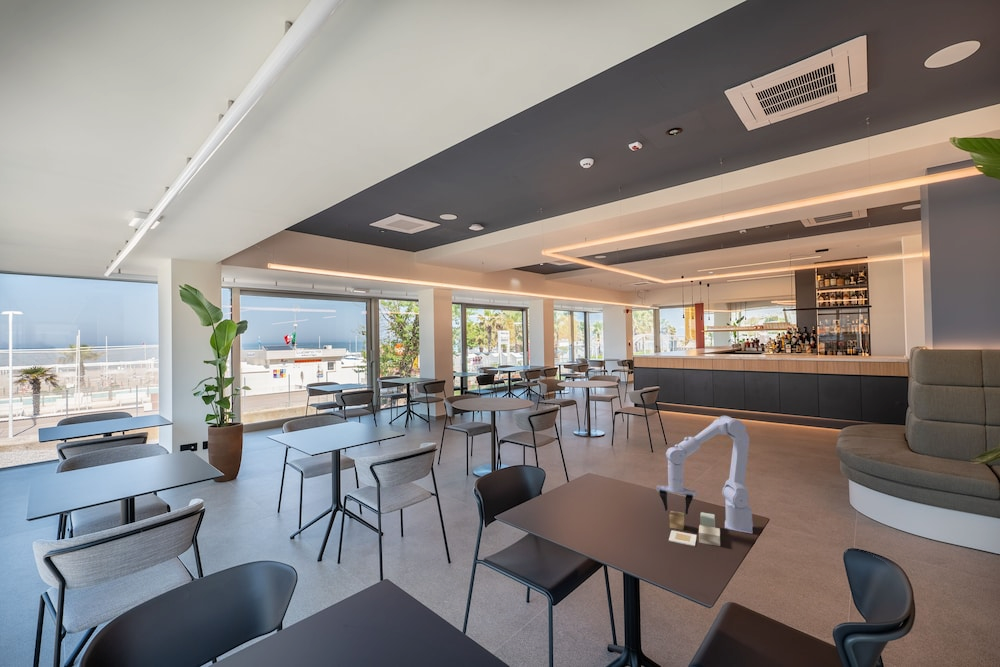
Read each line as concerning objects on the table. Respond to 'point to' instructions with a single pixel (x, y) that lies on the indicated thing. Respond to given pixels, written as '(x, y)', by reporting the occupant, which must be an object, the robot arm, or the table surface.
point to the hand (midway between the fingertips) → (676, 511)
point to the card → (682, 538)
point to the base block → (709, 535)
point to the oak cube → (676, 520)
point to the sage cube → (707, 519)
